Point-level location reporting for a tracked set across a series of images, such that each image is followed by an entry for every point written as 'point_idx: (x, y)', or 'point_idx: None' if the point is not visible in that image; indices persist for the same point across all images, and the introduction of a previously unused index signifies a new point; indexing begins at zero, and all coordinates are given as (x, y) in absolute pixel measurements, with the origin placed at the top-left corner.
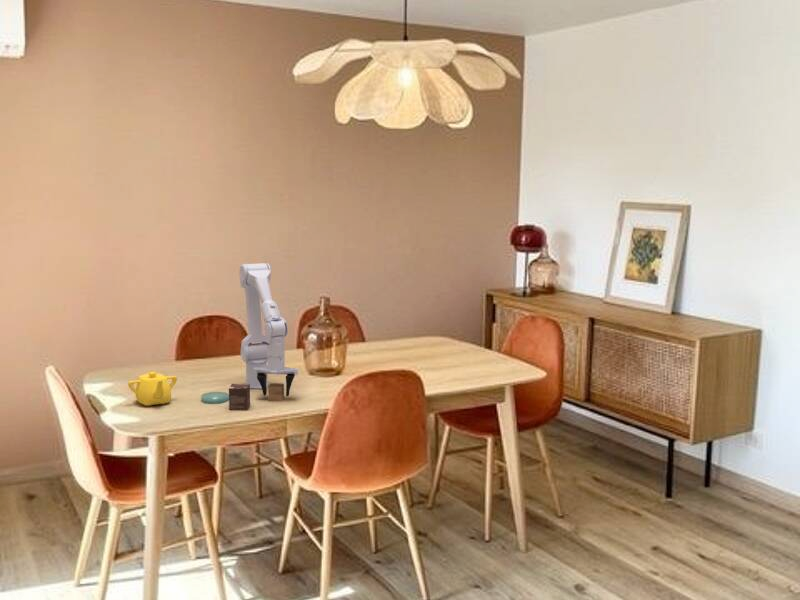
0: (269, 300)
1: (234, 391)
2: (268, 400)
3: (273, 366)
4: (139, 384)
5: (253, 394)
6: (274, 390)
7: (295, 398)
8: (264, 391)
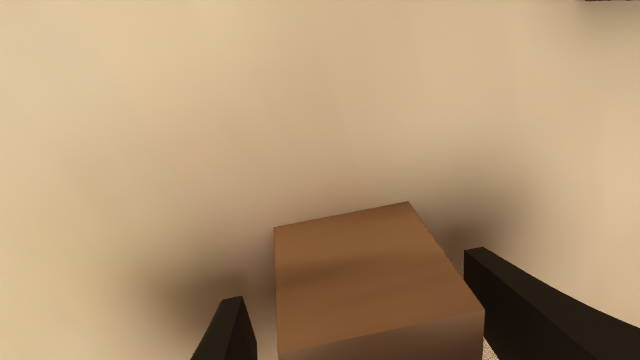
0: None
1: None
2: (409, 204)
3: None
4: None
5: None
6: (376, 290)
7: (186, 336)
8: (498, 270)
